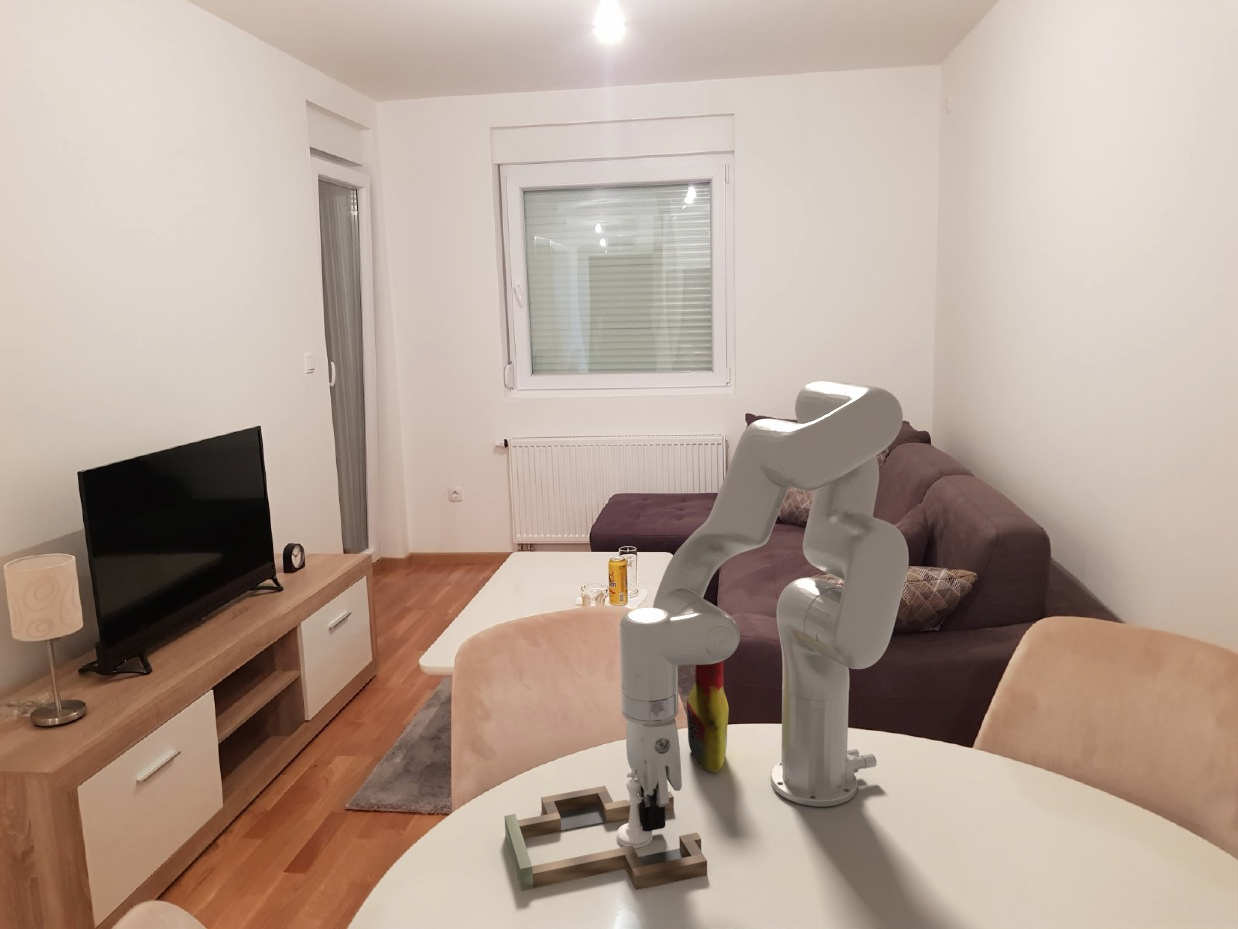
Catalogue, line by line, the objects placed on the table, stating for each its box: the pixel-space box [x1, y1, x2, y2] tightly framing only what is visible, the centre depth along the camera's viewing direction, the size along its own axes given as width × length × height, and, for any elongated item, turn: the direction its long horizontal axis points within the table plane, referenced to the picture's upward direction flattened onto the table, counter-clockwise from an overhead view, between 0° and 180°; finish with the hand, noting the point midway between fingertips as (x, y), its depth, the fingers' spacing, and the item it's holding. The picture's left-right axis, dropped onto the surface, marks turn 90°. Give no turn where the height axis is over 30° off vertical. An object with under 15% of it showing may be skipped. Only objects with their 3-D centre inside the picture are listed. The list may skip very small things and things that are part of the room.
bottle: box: [686, 660, 729, 772], centre depth 138 cm, size 12×6×20 cm, turn 1°
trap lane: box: [504, 785, 708, 891], centre depth 119 cm, size 24×21×3 cm
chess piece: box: [616, 769, 654, 849], centre depth 119 cm, size 5×5×10 cm
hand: (652, 826), depth 121 cm, fingers closed
